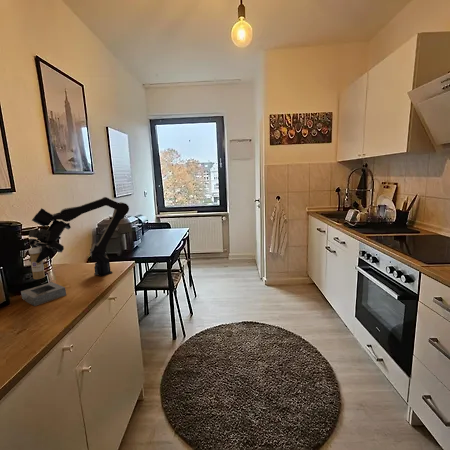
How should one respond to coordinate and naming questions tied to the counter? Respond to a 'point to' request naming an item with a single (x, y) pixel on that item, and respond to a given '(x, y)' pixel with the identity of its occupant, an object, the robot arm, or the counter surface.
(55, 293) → the block
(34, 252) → the sprinkles bottle
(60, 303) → the counter surface
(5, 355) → the counter surface
